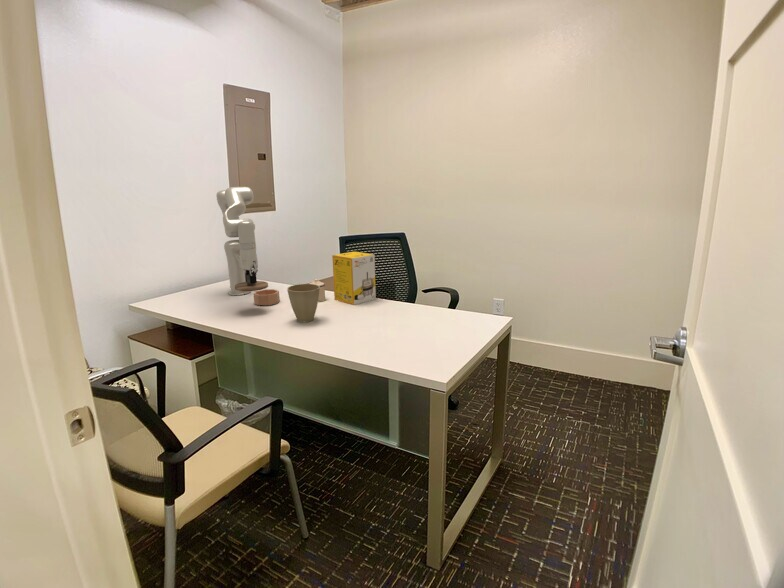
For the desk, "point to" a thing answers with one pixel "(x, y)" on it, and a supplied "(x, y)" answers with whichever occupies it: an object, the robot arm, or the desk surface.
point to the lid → (251, 285)
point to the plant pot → (304, 300)
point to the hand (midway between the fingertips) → (251, 282)
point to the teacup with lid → (321, 290)
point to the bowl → (266, 297)
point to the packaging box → (354, 277)
